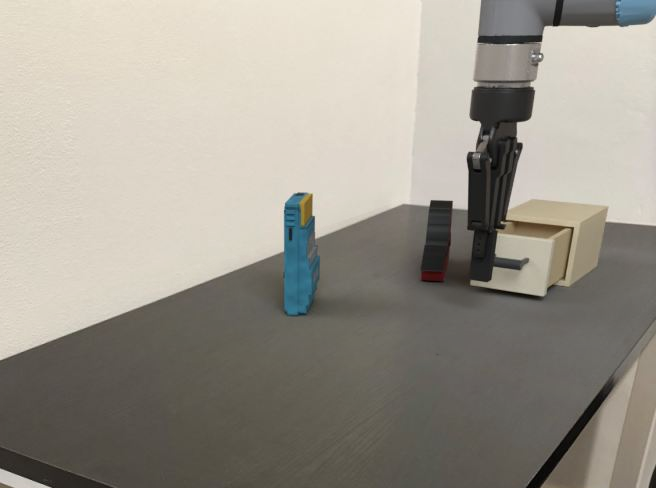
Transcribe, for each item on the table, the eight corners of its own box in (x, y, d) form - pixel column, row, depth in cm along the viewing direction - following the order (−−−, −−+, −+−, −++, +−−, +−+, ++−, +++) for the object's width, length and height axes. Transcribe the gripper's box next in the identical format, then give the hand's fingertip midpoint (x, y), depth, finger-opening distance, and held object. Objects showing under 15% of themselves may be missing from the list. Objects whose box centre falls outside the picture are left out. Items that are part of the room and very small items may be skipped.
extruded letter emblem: (429, 258, 139) (435, 190, 133) (449, 259, 138) (456, 191, 132) (419, 286, 124) (425, 211, 118) (441, 287, 123) (449, 212, 117)
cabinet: (568, 287, 122) (580, 222, 117) (491, 275, 129) (499, 213, 124) (596, 266, 132) (608, 206, 127) (523, 256, 139) (532, 198, 134)
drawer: (533, 303, 112) (542, 247, 108) (458, 291, 118) (464, 237, 114) (572, 275, 124) (582, 224, 120) (503, 266, 130) (510, 216, 126)
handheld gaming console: (293, 296, 120) (292, 191, 112) (319, 297, 120) (321, 192, 112) (281, 316, 112) (280, 204, 104) (310, 317, 111) (311, 205, 104)
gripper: (514, 88, 90) (487, 295, 102) (552, 82, 99) (523, 273, 111) (452, 87, 93) (434, 286, 106) (495, 81, 102) (473, 265, 115)
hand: (480, 279), depth 108 cm, fingers closed
